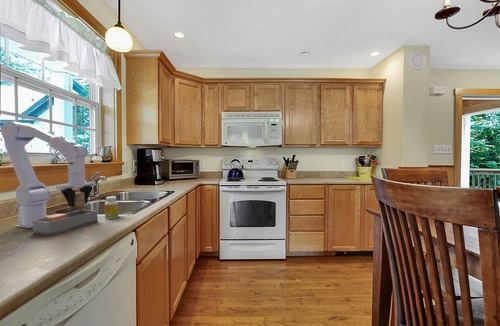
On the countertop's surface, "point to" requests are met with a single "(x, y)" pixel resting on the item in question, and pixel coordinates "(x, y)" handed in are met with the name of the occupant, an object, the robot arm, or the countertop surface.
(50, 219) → the cube
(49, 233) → the box
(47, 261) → the countertop surface
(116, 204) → the supplement bottle
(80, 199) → the cylinder
